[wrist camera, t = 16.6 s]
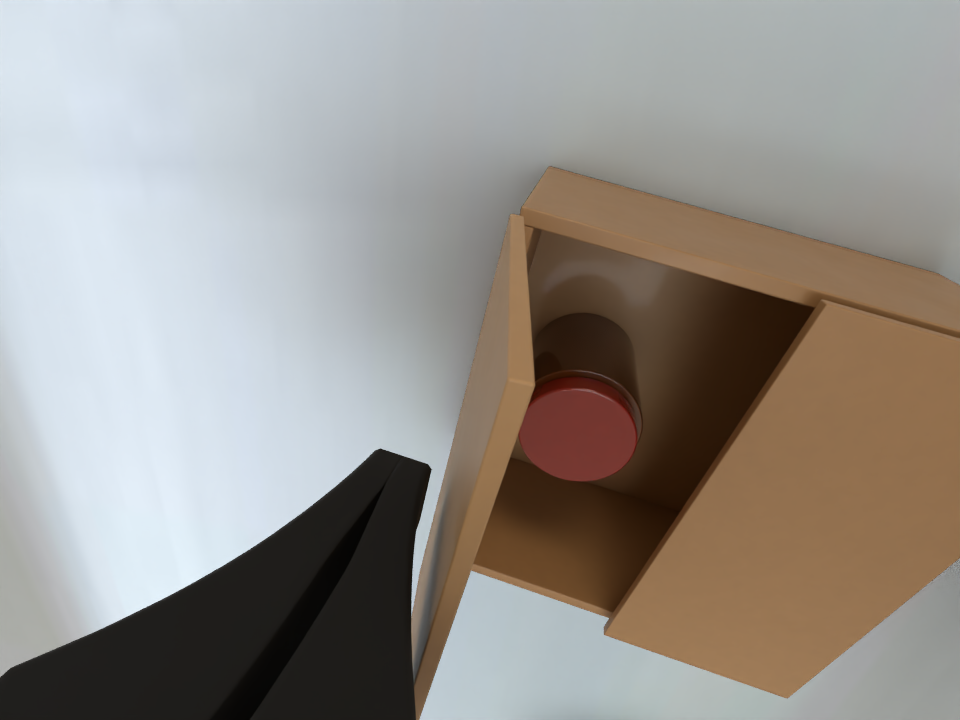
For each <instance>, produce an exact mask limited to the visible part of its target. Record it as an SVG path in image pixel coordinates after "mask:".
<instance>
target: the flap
mask: <svg viewBox="0 0 960 720" xmlns="http://www.w3.org/2000/svg"><path fill="white" fill-rule="evenodd" d="M534 387H535V375H534V361H533V346H532V331H531V317H530V302H529V287H528V273H527V258H526V243H525V229H524V217H523V216H519V215H515V214H510V217H509V221H508V225H507V229H506V233H505V237H504V241H503V245H502V249H501V253H500V257H499V261H498V265H497V269H496V272H495V276H494V280H493V284H492V288H491V292H490V296H489V300H488V304H487V308H486V312H485V316H484V320H483V324H482V328H481V332H480V336H479V340H478V344H477V348H476V352H475V356H474V359H473V363H472V367H471V371H470V375H469V379H468V383H467V387H466V391H465V395H464V399H463V403H462V407H461V411H460V415H459V419H458V423H457V427H456V431H455V435H454V439H453V443H452V446H451V450H450V454H449V458H448V462H447V466H446V470H445V474H444V478H443V482H442V486H441V490H440V494H439V498H438V502H437V506H436V510H435V514H434V518H433V522H432V526H431V530H430V533H429V537H428V541H427V545H426V549H425V553H424V557H423V561H422V565H421V569H420V574H419V580H418V585H417V590H416V596H415V601H414V607H413V612H412V618H411V637H412V665H413V680H414V695H415V709H416V720H419V719H420V716H421V713H422V710H423V707H424V704H425V701H426V698H427V696H428V693H429V690H430V687H431V684H432V681H433V678H434V675H435V673H436V670H437V667H438V664H439V661H440V658H441V655H442V652H443V650H444V647H445V644H446V641H447V638H448V635H449V632H450V629H451V626H452V624H453V621H454V618H455V615H456V612H457V609H458V606H459V603H460V601H461V598H462V595H463V592H464V589H465V586H466V583H467V580H468V578H469V575H470V572H471V569H472V566H473V563H474V560H475V557H476V554H477V552H478V549H479V546H480V543H481V540H482V537H483V534H484V531H485V529H486V526H487V523H488V520H489V517H490V514H491V511H492V508H493V506H494V503H495V500H496V497H497V494H498V491H499V488H500V485H501V483H502V480H503V477H504V474H505V471H506V468H507V465H508V462H509V459H510V457H511V454H512V451H513V448H514V445H515V442H516V439H517V436H518V434H519V431H520V428H521V425H522V422H523V419H524V416H525V413H526V411H527V408H528V405H529V402H530V399H531V396H532V393H533V390H534Z"/></svg>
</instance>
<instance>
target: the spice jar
mask: <svg viewBox="0 0 960 720" xmlns="http://www.w3.org/2000/svg"><path fill="white" fill-rule="evenodd" d="M533 361H534V375H535V387H534V390H533V393H532V396H531V399H530V402H529V405H528V408H527V411H526V413H525V416H524V419H523V422H522V425H521V428H520V431H519V434H518V438H519V442H520V444H521V447H522V449H523V451H524V453H525V454H526V456H527V457H528V458H529V460H530V461H531V462H532V463H533V464H534V465H536V466H537V467H538V468H539V469H541V470H543V471H544V472H546V473H548V474H550V475H552V476H555V477H557V478H560V479H564V480H569V481H578V482H587V481H595V480H599V479H603V478H606V477H609V476H611V475H613V474H615V473H616V472H618V471H619V470H621V469H622V468H623V467H624V466H625V465H626V464H627V463H628V462H629V461H630V459H631V458H632V456H633V454H634V452H635V450H636V446H637V444H638V442H639V440H640V438H641V435H642V431H643V416H642V408H641V400H640V392H639V384H638V376H637V368H636V360H635V352H634V348H633V345H632V342H631V340H630V338H629V337H628V335H627V334H626V332H625V331H624V330H623V329H622V328H621V327H620V326H619V325H617V324H616V323H615V322H613V321H611V320H610V319H608V318H605V317H603V316H600V315H596V314H592V313H573V314H568V315H564V316H561V317H559V318H557V319H555V320H553V321H551V322H550V323H548V324H547V325H546V326H545V327H544V328H543V329H542V330H541V331H540V332H539V334H538V335H537V337H536V338H535V340H534V343H533Z"/></svg>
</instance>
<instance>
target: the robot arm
mask: <svg viewBox="0 0 960 720" xmlns="http://www.w3.org/2000/svg"><path fill="white" fill-rule="evenodd" d="M430 474H431V468H430V467H429V465H428V464H425V463H422V462H419V461H416V460H413V459H410V458H407V457H404V456H401V455H398V454H395V453H392V452H389V451H386V450H383V449H378V450H376V451H374V452H373V453H372V454H371V455H370V456H369V457H368V458H367V459H366V460H365V461H364V462H363V463H362V464H361V465H360V466H359V467H358V468H356V469H355V470H354V471H353V472H352V473H351V474H350V475H349V476H347V477H346V478H345V479H344V480H343V481H342V482H340V483H339V484H338V485H337V486H336V487H335V488H333V489H332V490H331V491H330V492H328V493H327V494H326V495H325V496H323V497H322V498H321V499H320V500H318V501H317V502H316V503H315V504H313V505H312V506H311V507H310V508H308V509H307V510H306V511H304V512H303V513H302V514H300V515H299V516H297V517H296V518H295V519H293V520H292V521H290V522H289V523H288V524H286V525H285V526H284V527H282V528H281V529H279V530H278V531H277V532H275V533H274V534H272V535H271V536H269V537H268V538H266V539H265V540H263V541H262V542H260V543H259V544H257V545H256V546H254V547H253V548H251V549H250V550H248V551H247V552H245V553H243V554H242V555H240V556H238V557H237V558H235V559H234V560H232V561H230V562H229V563H227V564H225V565H224V566H222V567H220V568H219V569H217V570H215V571H213V572H212V573H210V574H208V575H206V576H205V577H203V578H201V579H199V580H198V581H196V582H194V583H192V584H191V585H189V586H187V587H185V588H183V589H181V590H179V591H178V592H176V593H174V594H172V595H170V596H168V597H166V598H164V599H162V600H160V601H158V602H156V603H154V604H152V605H150V606H148V607H146V608H144V609H142V610H140V611H138V612H136V613H134V614H132V615H130V616H128V617H125V618H123V619H121V620H119V621H117V622H115V623H113V624H111V625H109V626H107V627H105V628H103V629H100V630H98V631H96V632H94V633H92V634H89V635H87V636H85V637H82V638H80V639H78V640H75V641H73V642H71V643H68V644H66V645H64V646H61V647H59V648H57V649H54V650H52V651H50V652H47V653H45V654H42V655H40V656H38V657H35V658H33V659H31V660H28V661H26V662H24V663H21V664H19V665H16V666H14V667H12V668H10V669H9V670H8V671H7V672H6V673H5V674H4V675H2V676H1V677H0V720H416V709H415V695H414V680H413V665H412V637H411V592H412V568H413V554H414V544H415V534H416V529H417V527H418V524H419V521H420V517H421V513H422V509H423V504H424V500H425V496H426V491H427V487H428V482H429V478H430Z"/></svg>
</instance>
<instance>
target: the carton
mask: <svg viewBox="0 0 960 720" xmlns="http://www.w3.org/2000/svg"><path fill="white" fill-rule="evenodd" d="M519 216H523V217H524V229H525V243H526V258H527V273H528V287H529V302H530V317H531V331H532V346H533V343H534V340H535V338H536V337H537V335H538V334H539V332H540V331H541V330H542V329H543V328H544V327H545V326H546V325H547V324H548V323H550V322H551V321H553V320H555V319H557V318H559V317H561V316H564V315H568V314H573V313H592V314H596V315H600V316H603V317H605V318H608V319H610V320H611V321H613V322H615V323H616V324H617V325H619V326H620V327H621V328H622V329H623V330H624V331H625V332H626V334H627V335H628V337H629V338H630V340H631V342H632V345H633V348H634V352H635V360H636V368H637V376H638V384H639V392H640V400H641V408H642V416H643V431H642V435H641V438H640V440H639V442H638V444H637V446H636V450H635V452H634V454H633V456H632V458H631V459H630V461H629V462H628V463H627V464H626V465H625V466H624V467H623V468H622V469H621V470H619V471H618V472H616V473H615V474H613V475H611V476H609V477H606V478H603V479H599V480H595V481H587V482H578V481H569V480H564V479H560V478H557V477H555V476H552V475H550V474H548V473H546V472H544V471H543V470H541V469H539V468H538V467H537V466H536V465H534V464H533V463H532V462H531V461H530V460H529V458H528V457H527V456H526V454H525V453H524V451H523V449H522V447H521V444H520V442H519V438H518V436H517V439H516V442H515V445H514V448H513V451H512V454H511V457H510V459H509V462H508V465H507V468H506V471H505V474H504V477H503V480H502V483H501V485H500V488H499V491H498V494H497V497H496V500H495V503H494V506H493V508H492V511H491V514H490V517H489V520H488V523H487V526H486V529H485V531H484V534H483V537H482V540H481V543H480V546H479V549H478V552H477V554H476V557H475V560H474V563H473V566H472V569H471V570H472V571H475V572H477V573H480V574H483V575H486V576H489V577H492V578H495V579H498V580H501V581H503V582H506V583H509V584H512V585H515V586H518V587H521V588H524V589H527V590H530V591H532V592H535V593H538V594H541V595H544V596H547V597H550V598H553V599H556V600H558V601H561V602H564V603H567V604H570V605H573V606H576V607H579V608H582V609H585V610H587V611H590V612H593V613H596V614H599V615H602V616H605V617H608V618H609V620H608V621H607V623H606V624H605V626H604V635H606V636H609V637H612V638H615V639H618V640H621V641H623V642H626V643H629V644H632V645H635V646H638V647H641V648H643V649H646V650H649V651H652V652H655V653H658V654H661V655H664V656H666V657H669V658H672V659H675V660H678V661H681V662H684V663H687V664H689V665H692V666H695V667H698V668H701V669H704V670H707V671H710V672H712V673H715V674H718V675H721V676H724V677H727V678H730V679H733V680H735V681H738V682H741V683H744V684H747V685H750V686H753V687H755V688H758V689H761V690H764V691H767V692H770V693H773V694H776V695H778V696H781V697H784V698H788V697H790V696H791V695H792V694H793V693H795V692H796V691H797V690H798V689H800V688H801V687H802V686H803V685H804V684H806V683H807V682H808V681H809V680H811V679H812V678H813V677H814V676H815V675H817V674H818V673H819V672H820V671H822V670H823V669H824V668H825V667H827V666H828V665H829V664H830V663H831V662H833V661H834V660H835V659H836V658H838V657H839V656H840V655H841V654H842V653H844V652H845V651H846V650H847V649H849V648H850V647H851V646H852V645H854V644H855V643H856V642H857V641H858V640H860V639H861V638H862V637H863V636H865V635H866V634H867V633H868V632H869V631H871V630H872V629H873V628H874V627H876V626H877V625H878V624H879V623H881V622H882V621H883V620H884V619H885V618H887V617H888V616H889V615H890V614H892V613H893V612H894V611H895V610H896V609H898V608H899V607H900V606H901V605H903V604H904V603H905V602H906V601H908V600H909V599H910V598H911V597H912V596H914V595H915V594H916V593H917V592H919V591H920V590H921V589H922V588H923V587H925V586H926V585H927V584H928V583H930V582H931V581H932V580H933V579H934V578H936V577H937V576H938V575H939V574H941V573H942V572H943V571H944V570H946V569H947V568H948V567H949V566H950V565H952V564H953V563H954V562H955V561H957V560H958V559H959V558H960V285H958V284H956V283H954V282H952V281H951V280H949V279H947V278H945V277H943V276H942V275H940V274H938V273H934V272H930V271H927V270H923V269H919V268H916V267H912V266H909V265H905V264H901V263H898V262H894V261H891V260H887V259H883V258H880V257H876V256H872V255H869V254H865V253H862V252H858V251H854V250H851V249H847V248H843V247H840V246H836V245H833V244H829V243H825V242H822V241H818V240H815V239H811V238H807V237H804V236H800V235H796V234H793V233H789V232H786V231H782V230H778V229H775V228H771V227H768V226H764V225H760V224H757V223H753V222H749V221H746V220H742V219H739V218H735V217H731V216H728V215H724V214H721V213H717V212H713V211H710V210H706V209H702V208H699V207H695V206H692V205H688V204H684V203H681V202H677V201H673V200H670V199H666V198H663V197H659V196H655V195H652V194H648V193H645V192H641V191H637V190H634V189H630V188H626V187H623V186H619V185H616V184H612V183H608V182H605V181H601V180H598V179H594V178H590V177H587V176H583V175H579V174H576V173H572V172H569V171H565V170H561V169H558V168H554V167H551V166H549V167H548V168H547V170H546V171H545V173H544V174H543V176H542V177H541V179H540V180H539V182H538V183H537V185H536V186H535V188H534V189H533V191H532V192H531V194H530V195H529V197H528V198H527V200H526V201H525V203H524V204H523V206H522V207H521V211H520V215H519Z"/></svg>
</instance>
